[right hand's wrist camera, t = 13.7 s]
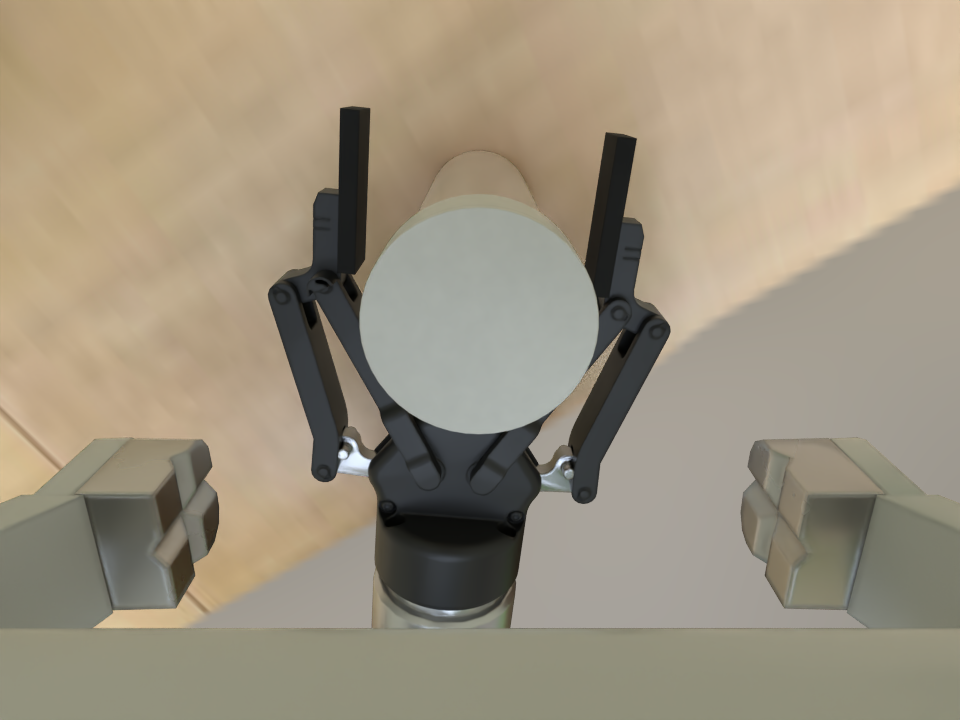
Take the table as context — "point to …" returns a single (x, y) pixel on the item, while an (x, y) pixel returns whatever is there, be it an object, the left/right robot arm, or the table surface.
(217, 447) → the table surface
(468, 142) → the table surface
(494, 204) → the lid
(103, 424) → the table surface
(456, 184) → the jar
